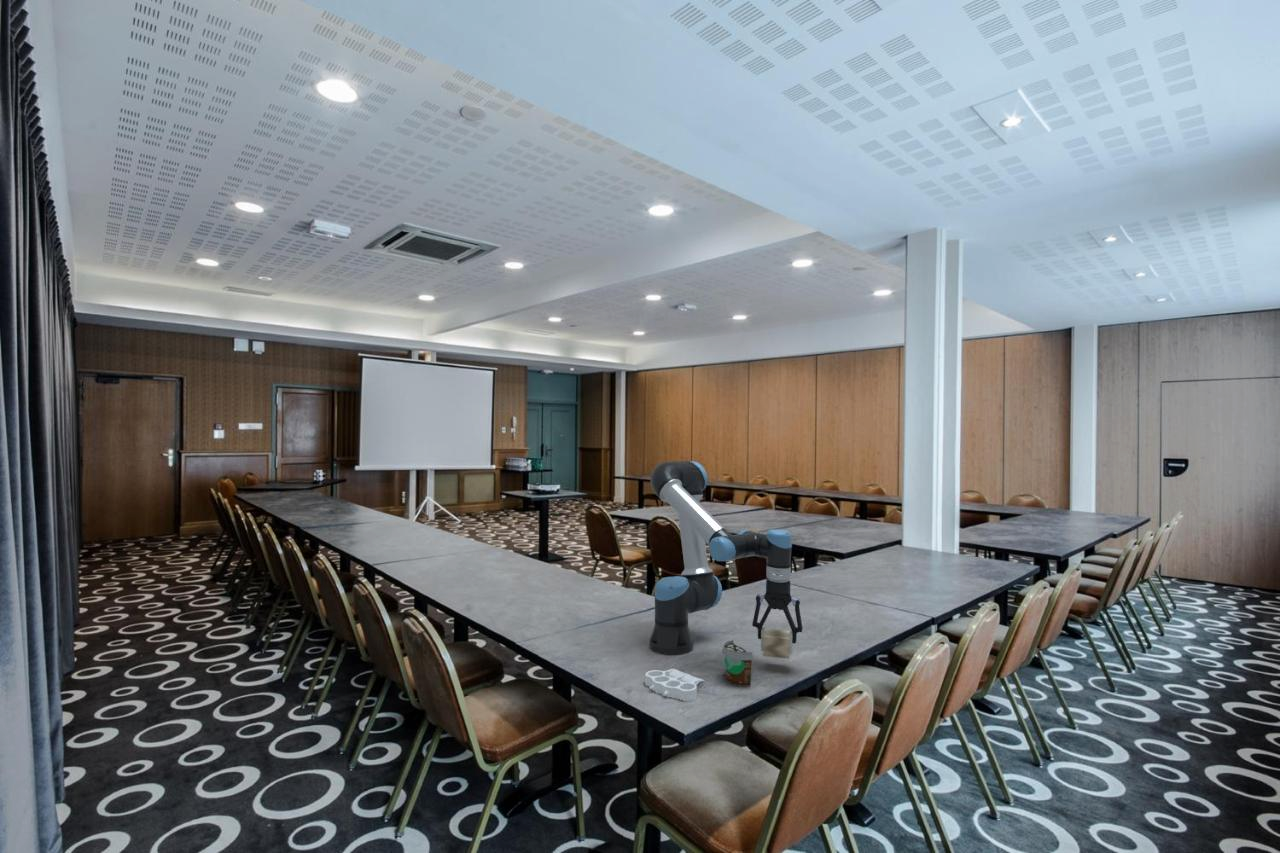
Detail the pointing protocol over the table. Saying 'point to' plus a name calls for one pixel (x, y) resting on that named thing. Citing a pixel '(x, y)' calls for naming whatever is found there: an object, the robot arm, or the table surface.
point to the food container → (737, 664)
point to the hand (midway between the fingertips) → (776, 651)
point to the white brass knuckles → (674, 684)
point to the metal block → (776, 643)
